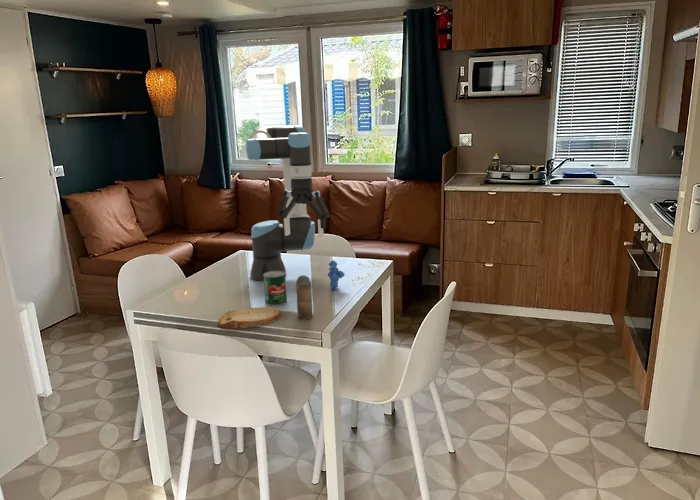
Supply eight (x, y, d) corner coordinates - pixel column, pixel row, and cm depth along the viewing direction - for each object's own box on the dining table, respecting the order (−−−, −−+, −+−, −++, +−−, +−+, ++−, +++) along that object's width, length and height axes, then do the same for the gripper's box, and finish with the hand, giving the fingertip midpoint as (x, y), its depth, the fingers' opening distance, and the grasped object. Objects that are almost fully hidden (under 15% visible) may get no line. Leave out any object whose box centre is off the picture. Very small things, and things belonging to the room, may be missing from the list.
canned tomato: (275, 297, 211) (273, 269, 208) (291, 301, 206) (289, 272, 204) (260, 303, 205) (258, 274, 202) (276, 307, 200) (274, 277, 198)
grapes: (345, 293, 213) (344, 263, 210) (327, 294, 213) (326, 263, 210) (345, 284, 224) (343, 255, 221) (328, 285, 224) (326, 256, 221)
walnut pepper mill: (294, 317, 190) (292, 275, 186) (306, 313, 193) (303, 272, 190) (304, 320, 186) (302, 278, 183) (315, 316, 190) (313, 275, 186)
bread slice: (285, 314, 194) (285, 303, 194) (262, 333, 178) (261, 322, 177) (239, 310, 200) (238, 300, 199) (212, 328, 183) (211, 317, 182)
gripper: (265, 178, 199) (268, 236, 204) (328, 179, 189) (331, 240, 195) (275, 175, 205) (279, 231, 211) (337, 176, 196) (339, 235, 201)
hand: (304, 236), depth 203 cm, fingers open, 13 cm apart
